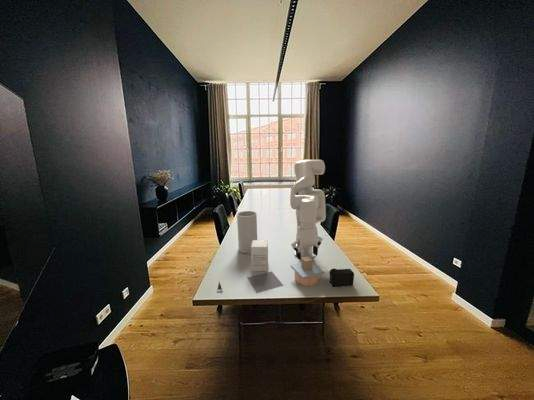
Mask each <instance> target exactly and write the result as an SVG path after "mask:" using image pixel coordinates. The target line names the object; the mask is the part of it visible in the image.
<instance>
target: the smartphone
mask: <svg viewBox="0 0 534 400" xmlns="http://www.w3.org/2000/svg"><path fill="white" fill-rule="evenodd" d="M223 292H224V290H223V288H222V285H221V283H220V281H218V286H217V292H216V293H223Z"/></svg>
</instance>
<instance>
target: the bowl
mask: <svg viewBox="0 0 534 400" xmlns="http://www.w3.org/2000/svg"><path fill="white" fill-rule="evenodd" d="M294 280H295V281H296V283H297V284H299V285H302V286H306V287H308V286H311V287H312V286H316V285H317V284H318V282H319V281H318V280H319V275H316V276H312V277H308V278H305V279H302V278H301V277H300V276H299V275H298V274H297V273H296V272H295V271H294Z"/></svg>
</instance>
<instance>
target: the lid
mask: <svg viewBox="0 0 534 400" xmlns="http://www.w3.org/2000/svg"><path fill="white" fill-rule="evenodd" d="M300 261H301V262H297V263H293V264H290V268H291V269H292V270H293V271H294V273H295V272H296V273H297V274H298V275H299V276H300V277H301V278H302V279H305V278H308V277H312V276H316V275H318V276H319V275H323V274H325V270H323V269H322V268H321V267H320V266H318V265H317V264H316V263H314V260H313V258H310V257H304V258H301V260H300Z"/></svg>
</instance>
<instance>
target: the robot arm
mask: <svg viewBox="0 0 534 400" xmlns="http://www.w3.org/2000/svg"><path fill="white" fill-rule="evenodd" d="M325 171H326V165H325V161H324V160H322V159H304V160H299V161H297V162H295V164H294V174H295V178H296V182H295V183H294V184H293V186H292V187H291V189H290V195H289V196H290V197H289V198H290V199H289V200H290V201H289V203H290V204H289V205H290V207H291V209H293V210H295V215H296V227H297V228H296V238H295V241H294V242H292V243H291V244H290V245H291V247H292V249H293V250H294V253H293V254H294V257H296V258H297V260H299V261H301V258H304V257H310V258H311V259H313V258H314V257H315V256H316V257H317V256H318V252H319V249H320V246H321V244H322V242H323V240H324V239H323V238H322V237H320V236H318V227H317V224H318V223H323V222H325V220H326V219H327V218H326V217H327V213H326V211H327V210H326V209H327V207H326V195H325V192H324V190H322V189H319V188H313V186H314V185H315V182H316V180H315V175H320V176H321V175H324V173H325Z"/></svg>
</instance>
